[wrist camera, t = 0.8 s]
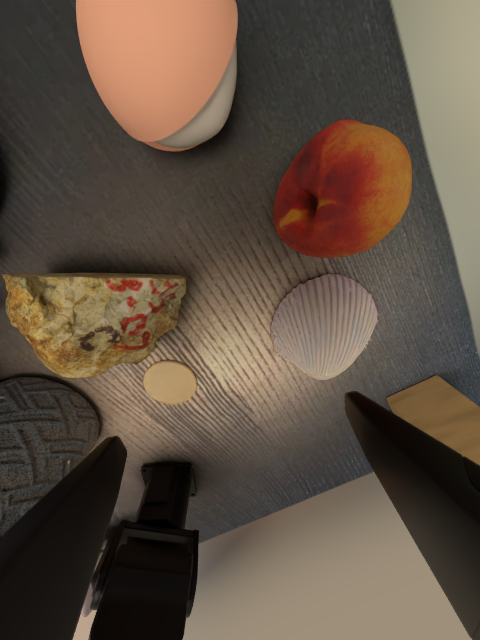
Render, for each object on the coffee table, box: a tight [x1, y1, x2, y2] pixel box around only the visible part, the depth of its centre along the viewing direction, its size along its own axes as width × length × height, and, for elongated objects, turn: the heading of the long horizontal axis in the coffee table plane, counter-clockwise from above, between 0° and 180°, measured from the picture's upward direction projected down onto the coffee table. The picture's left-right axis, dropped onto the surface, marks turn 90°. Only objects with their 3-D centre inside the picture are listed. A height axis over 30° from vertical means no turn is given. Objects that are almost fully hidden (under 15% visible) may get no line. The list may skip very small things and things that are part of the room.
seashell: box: [271, 274, 378, 380], centre depth 22 cm, size 10×6×10 cm
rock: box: [3, 273, 186, 378], centre depth 19 cm, size 12×9×10 cm
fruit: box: [273, 119, 412, 258], centre depth 15 cm, size 8×8×8 cm
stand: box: [386, 375, 480, 465], centre depth 23 cm, size 6×6×12 cm
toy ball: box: [76, 0, 238, 151], centre depth 12 cm, size 8×8×8 cm
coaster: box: [143, 360, 197, 404], centre depth 25 cm, size 6×6×1 cm
